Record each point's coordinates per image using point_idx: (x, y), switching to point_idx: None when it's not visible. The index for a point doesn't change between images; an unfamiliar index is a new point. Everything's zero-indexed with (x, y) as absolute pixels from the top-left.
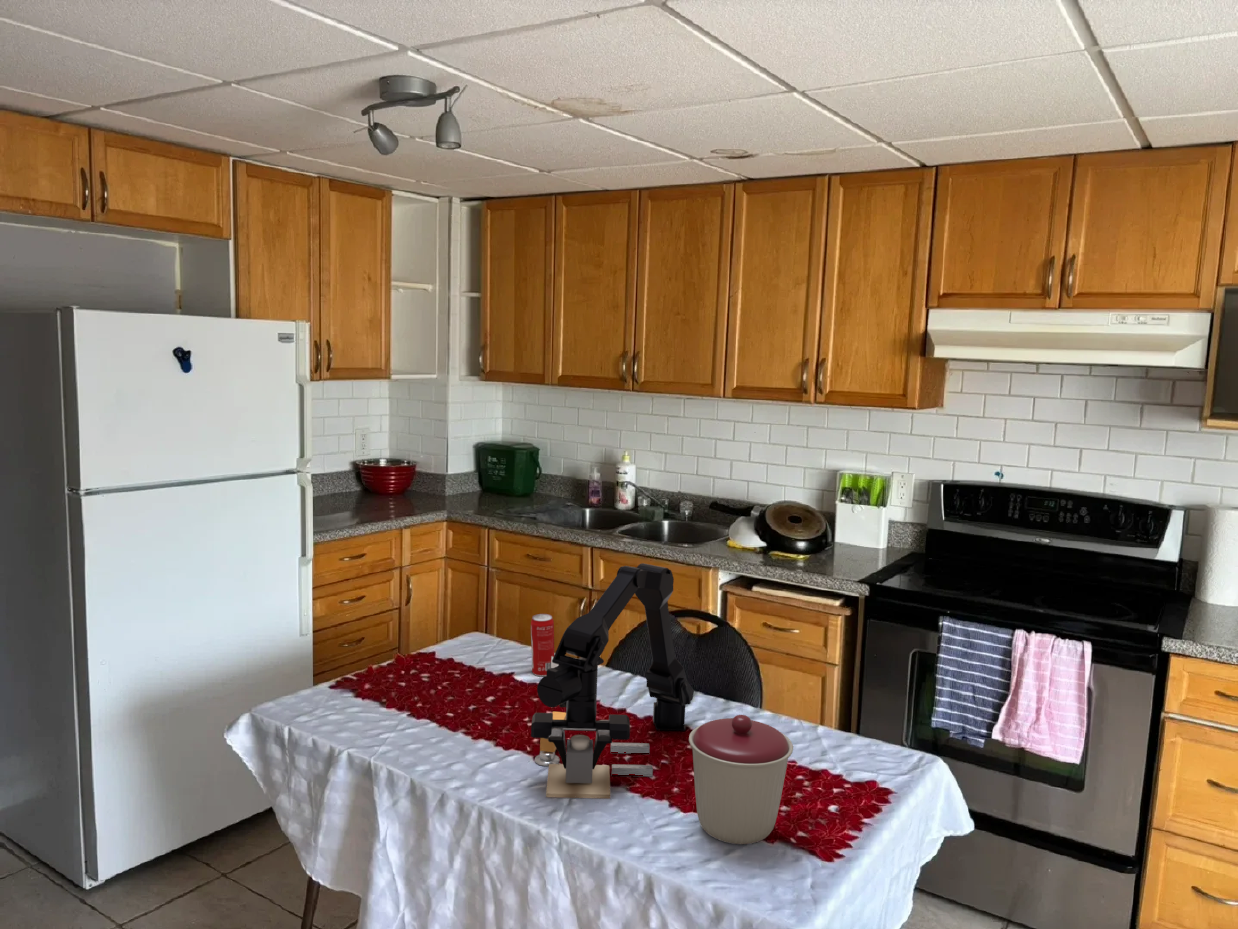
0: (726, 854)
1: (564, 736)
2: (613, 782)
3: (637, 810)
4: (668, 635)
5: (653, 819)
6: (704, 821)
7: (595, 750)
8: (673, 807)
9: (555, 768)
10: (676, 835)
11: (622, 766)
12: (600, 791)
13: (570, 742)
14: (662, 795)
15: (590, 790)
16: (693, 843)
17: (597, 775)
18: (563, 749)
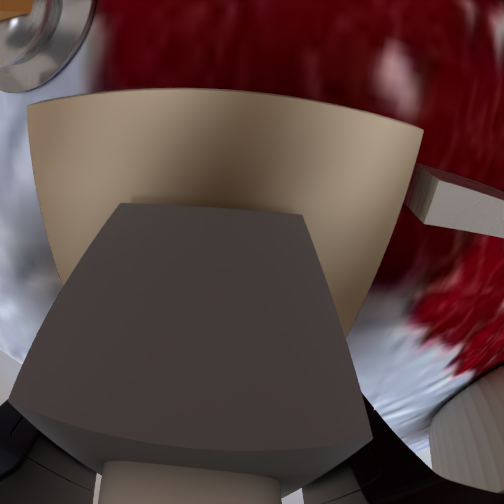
0: (422, 429)
1: (25, 497)
2: (384, 262)
3: (372, 389)
4: None
5: (385, 404)
6: (430, 443)
7: (305, 499)
8: (451, 367)
9: (63, 159)
10: (392, 423)
11: (472, 213)
12: None
13: (79, 450)
14: (469, 329)
15: None
16: (402, 427)
17: (322, 250)
18: (89, 484)
